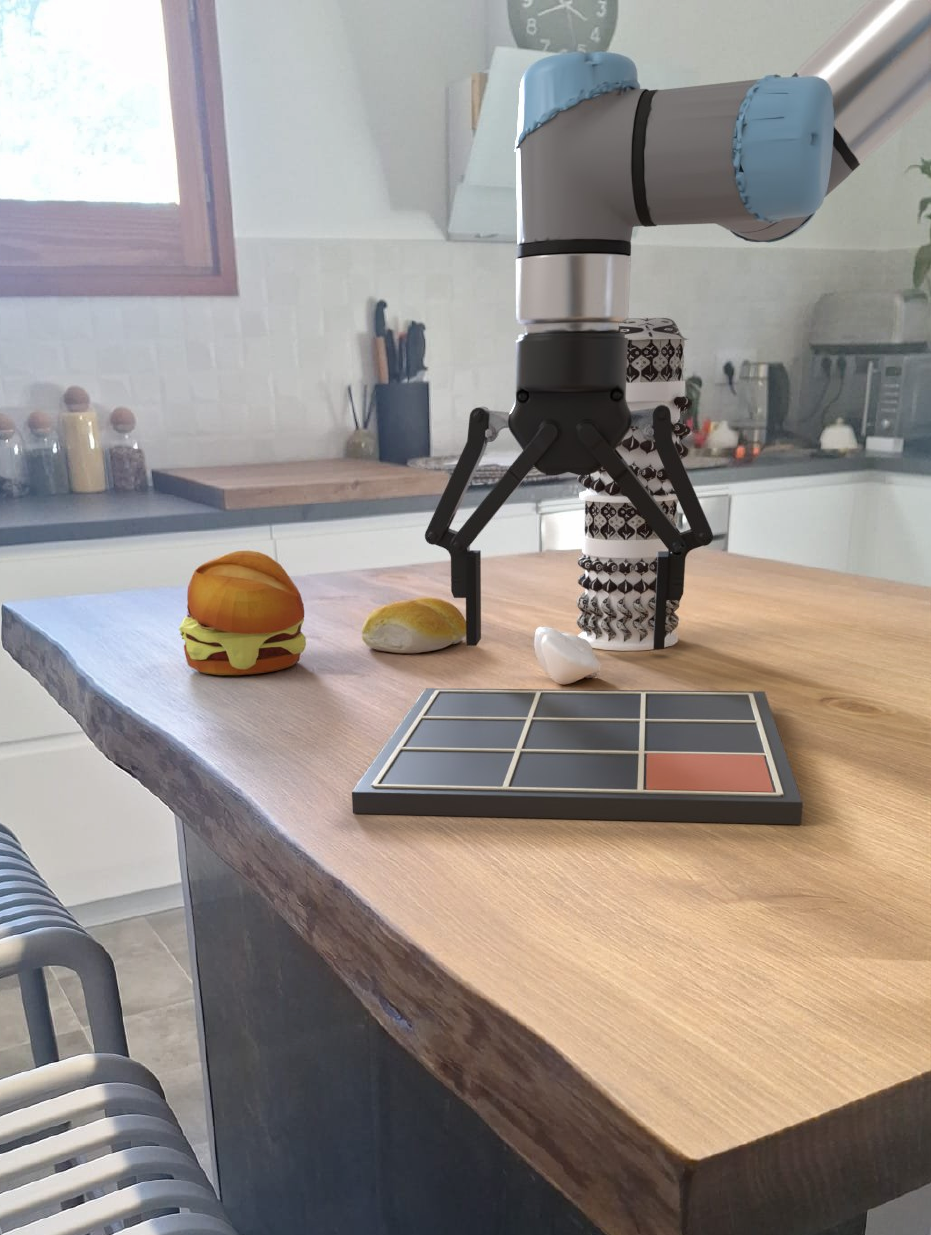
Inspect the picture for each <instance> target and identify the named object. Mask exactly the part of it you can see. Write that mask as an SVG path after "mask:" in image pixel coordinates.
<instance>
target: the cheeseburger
mask: <svg viewBox="0 0 931 1235" xmlns="http://www.w3.org/2000/svg"><path fill="white" fill-rule="evenodd" d="M186 598H187V605H186V608H187V613H186V615H185V617H184V618H183V619H182V622H181V624H180V626H179V628H178V630H179V631H180V633H179V635H180V636H181V639H182V640H184V642H185V644H184V645H183V651H184V656H185V659H186V664H187V666H188V667H190V668H192V669H193V670H196V671H197V672H200V673H201V674H205V675H206V674H207V675H215V676H245V675H259V674H260V675H261V674H264V673H265V674H266V673H271V672H276V671H281V670H284V669H287V668H288V669H289V668H290V667H292V666H294V665H296V663H298V662H299V661H300V658H301V655H302V653H303V652H304V651H305V648H306V647H307V639H306V638H307V637H306V636H305V634H304V633H303V632H302V626H303V625H304V624H303V623H304V621H305V619H304V618H305V606H304V605H305V604H304V603H303V598H302V594H301V593H300V591H299V589H298V587H297V586H296V584H295V583H294V581H293V580H292V578H291V577H290V575H289V574H288V573H287V572H286V570H285V568H284V567H283V566H282V565H281V564H280V563H279V562H277V561H276V560H275V559H273V558H272V557H271V556H269V555H267V554H265V553H262V552H260V551H253V550H237V551H233V552H229V553H226V554H222V555H220V556H218V557H215V558H213V559H211V560H208V561H207V562H205V563H203V564H201V565H199V566H198V567H197V568H195V570H194V572H193V574H192V576H191V578H190V581H189V583H188V585H187V596H186Z"/></svg>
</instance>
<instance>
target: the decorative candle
mask: <svg viewBox="0 0 931 1235" xmlns="http://www.w3.org/2000/svg"><path fill="white" fill-rule="evenodd" d="M619 329H621V333H625V338H628V347H627V375H626V402H627V405H628V408H629V410H630V411H635V410H643V409H650V408H655V407H656V406H658V405H661V404H662V405H666V406H667V407H668V408H669V409H670V413H671V427H672V440H673V442H674V444H675V447H676V449H677V451H678V454H679V456H680V458H681V460H682V459H684V458H686V457H687V456H688V455H689V452H690V451H689V448H688V447H687V446H686V445H684V443H682V441H683V439H685V438H687V437H688V436H689V435H690V433H691V432H692V431H691V430H692V429H691V427H690V426H689V425H687V424H685V422H684V421H682V422H681V421H680V420H681V414H682V413H683V414H685V413H686V412H688V411H690V410H691V409H692V408H693V405H694V401H693V399H691V398H690V397H688V396H687V395H685V394H686V380H684V375H683V369H684V365H685V355H684V348H685V341H687V340H689V338H686V337H684V336H683V335H682V333H681V331H680V330H679V327H678V325H677V323H676V321H674V320H673V319H672V318H668V317H634V318H633V317H631V318H629V317H628V319H627V321H626V322H625V323H619ZM616 450H617V451H618V452H619V454H620V455H621V456H622V457H623V459H624V460H625V461H626V463H627V464H628V465H629V467H630V468H631V470H632V471H633V472H634V473H635V475H636V476H637V477H638V479H639V480H640V481H641V482H642V484H643V485H644V486H645V488H646V489H647V490H648V491H649V493H650V494H651V495H652V497H653V498H654V499H655V500H656V502H657V503H658V504H659V506H660V507H661V508H662V509H663V511H664V512H665V513H666V514H667V516H668V517H669V518H670V520H671V521H672V522H673V523H674V525H675V526H676V527H677V523H678V515H679V514H678V513H679V512H678V504H679V501H678V498H677V496H676V494H675V491H674V489H673V487H672V484H671V482H670V480H669V478H668V475H667V473H666V471H665V468H664V466H663V464H662V461H661V459H660V457H659V454H658V452H657V449H656V445H655V440H653V441H648V440H646V439H644V437H643V436H642V433H641V431H640V429H639V428H637V427H631V428H630V430H629V431H628V433H627V434H626V435H625V437H624V438H623V440H622V441H621V442H620V444H619V445H618V447H617V448H616ZM576 480H577V482H578V483H579V484H581V486H583V487H584V488H586V489H585V490H583V491H581V492H580V491H579V496H578V497H579V499H580V500H581V501H584V529H583V530H584V533H583V534H582V535H581V552H582V553H583V555H581V556H580V557H579V558H578V560H577V565H578V566H579V567H580V568H582V569H583V570H584V571H585V572H584V573H582V574H581V575H580V576H579V578H578V579H577V584H578V585H579V586H580V587H582V588H583V589H584V591H583V593H582V594H581V595H579V597H578V598H577V600H576V606H577V608H578V610H579V611H581V613H580V614H579V615H578V617H577V619H576V625H577V626H578V628H579V629H580V630H581V631H582V632H580V633H578V635H577V636H579V637H581V638H583V639H585V640H587V641H588V642H589V644H590V645H591V647H592V648H593V649H598V650H604V651H619V652H630V651H631V652H632V651H635V652H637V651H649V650H650V651H651V650H655V649H654V622H655V601H656V580H657V560H658V551H668V548H667V547H666V546H665V545H664V543H663V542H662V541H661V540H660V538H659V537H658V536H657V534H656V533H655V532H654V531H653V529H652V528H651V527H650V526H649V524H648V523H647V522H646V520H645V519H644V518H643V517H642V515H641V514H640V513H639V512H638V510H637V509H636V508H635V506H634V505H633V504H632V503H631V501H630V500H629V499H628V498H627V496H626V495H625V494H624V492H623V491H622V490H621V489H620V487H619V486H618V485H617V484H616V482H615V481H614V480H613V479H612V478H611V477H610V476H609V474H608V473H607V472H606V470H605V469H604V468H603V467H602V468H601V469H600V470H599V471H597V472H595V473H592V474H591V475H577V479H576ZM680 602H681V600H667V603H666V622H665V642H664V648H669V647H672V646H674V645H676V644H677V643H678V642H679V636H678V635H677V633H675V632H674V630H676V629H677V628H678V627H679V621H680V618H679V616H678V615H677V613H675V612H676V611H677V610H678V609H679V608H680ZM607 645H608V646H607Z"/></svg>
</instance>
